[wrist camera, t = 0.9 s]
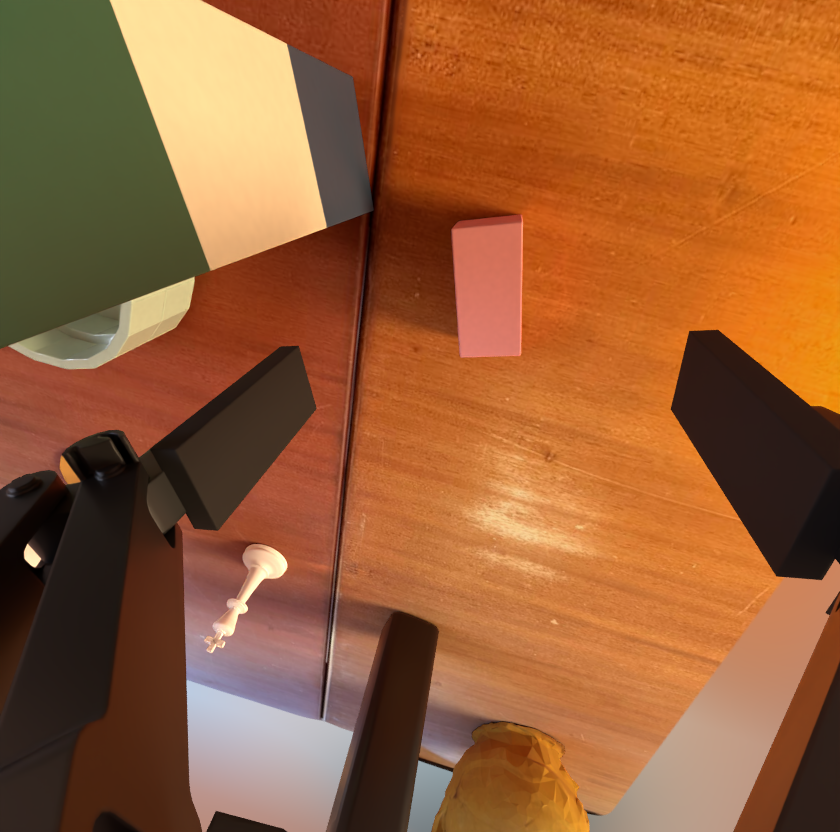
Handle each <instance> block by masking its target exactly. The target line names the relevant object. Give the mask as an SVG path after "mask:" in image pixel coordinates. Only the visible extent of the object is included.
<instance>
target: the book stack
mask: <svg viewBox="0 0 840 832" xmlns="http://www.w3.org/2000/svg"><path fill="white" fill-rule="evenodd" d="M373 210H374V208H373V202H372V196H371V189H370V183H369V177H368V171H367V164H366V158H365V152H364V145H363V139H362V133H361V126H360V120H359V114H358V107H357V101H356V95H355V88H354V82H353V77H352V76H350V75H348V74H346V73H344V72H342V71H340V70H338V69H336V68H334V67H332V66H330V65H328V64H326V63H324V62H322V61H320V60H318V59H316V58H314V57H312V56H310V55H308V54H306V53H304V52H302V51H300V50H298V49H296V48H294V47H292V46H290V45H288V44H286V43H284V42H282V41H280V40H278V39H276V38H274V37H272V36H270V35H268V34H267V33H265V32H263V31H261V30H259V29H257V28H255V27H253V26H251V25H249V24H247V23H245V22H243V21H241V20H239V19H237V18H235V17H233V16H231V15H229V14H227V13H225V12H223V11H221V10H219V9H217V8H215V7H213V6H211V5H209V4H207V3H205V2H203V1H201V0H0V349H1V348H4V347H6V346H9V345H12V344H15V343H17V342H20V341H23V340H25V339H28V338H31V337H33V336H36V335H39V334H42V333H44V332H47V331H50V330H52V329H55V328H58V327H61V326H63V325H66V324H69V323H71V322H74V321H77V320H79V319H82V318H85V317H88V316H90V315H93V314H96V313H98V312H101V311H104V310H106V309H109V308H112V307H115V306H117V305H120V304H123V303H125V302H128V301H131V300H133V299H136V298H139V297H142V296H144V295H147V294H150V293H152V292H155V291H158V290H160V289H163V288H166V287H169V286H171V285H174V284H177V283H179V282H182V281H185V280H187V279H190V278H193V277H196V276H198V275H201V274H204V273H206V272H209V271H212V270H214V269H217V268H220V267H222V266H225V265H228V264H231V263H233V262H236V261H239V260H241V259H244V258H247V257H249V256H252V255H255V254H258V253H260V252H263V251H266V250H268V249H271V248H274V247H276V246H279V245H282V244H285V243H287V242H290V241H293V240H295V239H298V238H301V237H303V236H306V235H309V234H312V233H314V232H317V231H320V230H322V229H325V228H328V227H330V226H333V225H336V224H339V223H341V222H344V221H347V220H349V219H352V218H355V217H358V216H360V215H363V214H366V213H368V212H371V211H373Z"/></svg>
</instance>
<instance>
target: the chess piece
mask: <svg viewBox="0 0 840 832" xmlns="http://www.w3.org/2000/svg"><path fill="white" fill-rule="evenodd" d="M243 562H244V564H245V565H246V567H247V568H248V570H249V573H248V576H247V578H246V580H245V582H244V584H243V586H242V588H241V590H240V592H239V594H238V596H237V598H236V599H229V600H228V601H227V607H228V608H229V610H228V611H227V612H225V613H224V614H223V615H222V616H221V617H220V618H219V619H218V620H217V621H215V622H214V624H213V629H214V631H215V632H217V634H216V635H215V637H214V638H213V637H210V636H207V637H206V639H205V643H207V644H210V645H209V647H208V648H207V652H209V653H212V652H213V650H214V649H215V647H216V646H217V647H220V648H223V647H224V645H225V641H222V640H220V639H221V637H222V636H231V635H232V634H233V632H234V629H235V624H236V621H237V617H238V614H244V613H245V612H246V611H247V610H248V607H247V605H246V604H245V602H246V601H247V599H248V598H249V597H250V595H251V594H252V593H253V591H254V590H255V589H256V587H257V586H258V585H259V583H260V582H261V581H262V580H263V579H266V578H269V579H274V578H278V577H280V576H282V575H283V573H284V572H285V571H286V569H287V562H286V560H285V558H284V557H283V556H282V555H281V554H280V553H279V552H278V551H276V550H275V549H273V548H271V547H269V546H266V545H262V544H252V545H249V546H248V547H247V548H246V549H245V552H244V553H243Z"/></svg>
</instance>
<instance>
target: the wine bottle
mask: <svg viewBox="0 0 840 832" xmlns="http://www.w3.org/2000/svg"><path fill="white" fill-rule="evenodd" d="M438 633H439V631H438V629H437V627H436V626H434V625H432V624H430V623H427V622H425V621H422V620H420V619H417V618H415V617H412V616H410V615H407V614H405V613H402V612H395V613H393V614H392V615H391V616H390V618H389V619H388V621H387V623H386V624H385V626H384V628H383V629H382V632H381V636H380V640H379V643H378V647H377V650H376V654H375V657H374V661H373V665H372V668H371V672H370V675H369V679H368V683H367V686H366V690H365V693H364V697H363V701H362V704H361V708H360V711H359V715H358V718H357V722H356V726H355V729H354V733H353V737H352V740H351V744H350V747H349V751H348V754H347V758H346V762H345V765H344V769H343V772H342V776H341V779H340V783H339V787H338V791H337V794H336V798H335V801H334V805H333V808H332V812H331V816H330V819H329V823H328V826H327V830H326V832H407V829H408V822H409V816H410V809H411V803H412V797H413V791H414V784H415V778H416V772H417V766H418V759H419V753H420V747H421V740H422V734H423V728H424V721H425V715H426V709H427V702H428V696H429V690H430V683H431V677H432V671H433V665H434V658H435V652H436V646H437V639H438Z"/></svg>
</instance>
